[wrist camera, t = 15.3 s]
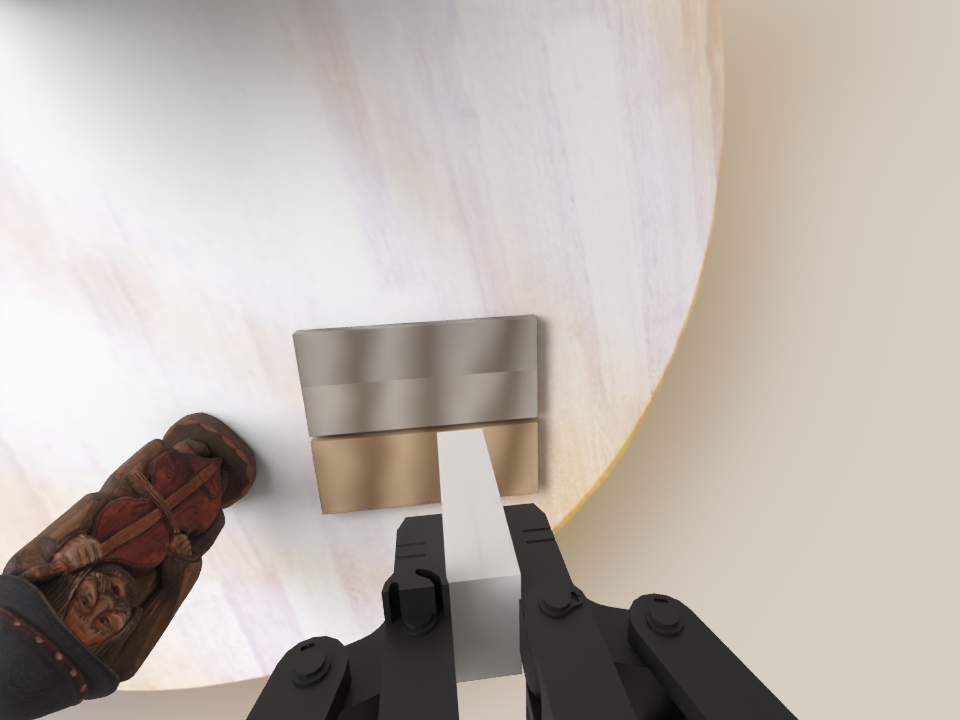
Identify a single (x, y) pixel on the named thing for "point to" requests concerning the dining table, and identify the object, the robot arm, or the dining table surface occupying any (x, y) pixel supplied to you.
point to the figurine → (115, 569)
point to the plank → (415, 464)
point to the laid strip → (418, 374)
